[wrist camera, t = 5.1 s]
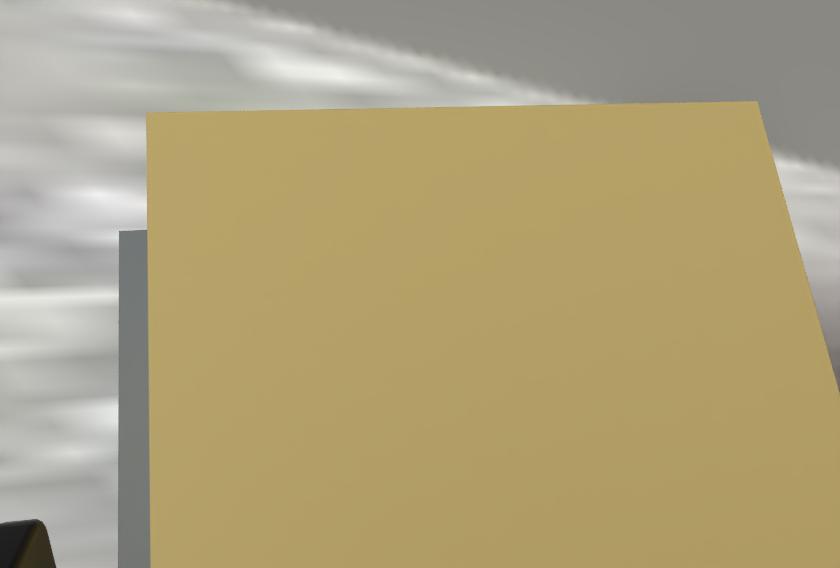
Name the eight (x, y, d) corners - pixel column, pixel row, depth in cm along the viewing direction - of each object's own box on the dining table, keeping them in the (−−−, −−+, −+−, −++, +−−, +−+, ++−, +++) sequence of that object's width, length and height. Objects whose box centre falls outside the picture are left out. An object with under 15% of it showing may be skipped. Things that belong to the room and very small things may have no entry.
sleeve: (610, 691, 16) (739, 749, 12) (173, 765, 15) (117, 868, 10) (541, 292, 19) (624, 208, 14) (165, 317, 17) (119, 231, 13)
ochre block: (535, 628, 16) (944, 763, 6) (245, 671, 15) (155, 923, 5) (493, 353, 18) (756, 101, 8) (232, 373, 17) (146, 112, 7)
